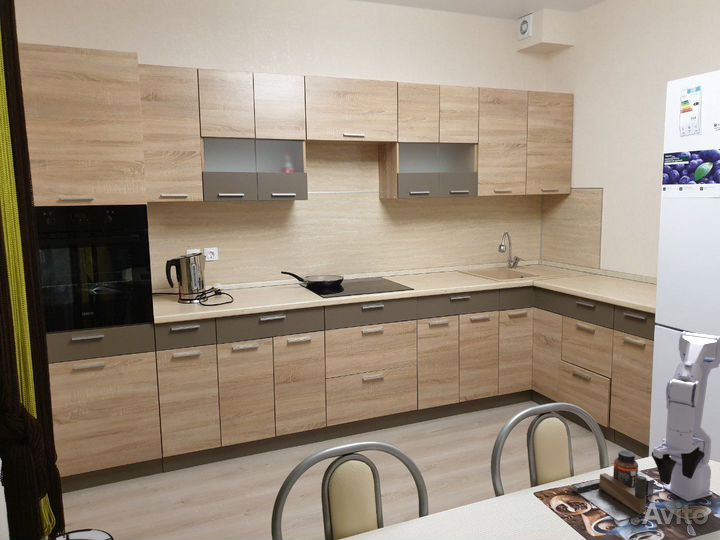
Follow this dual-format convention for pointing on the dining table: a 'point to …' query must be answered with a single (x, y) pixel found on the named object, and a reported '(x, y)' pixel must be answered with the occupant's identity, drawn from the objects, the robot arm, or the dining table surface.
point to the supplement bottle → (626, 468)
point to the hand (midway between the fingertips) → (676, 479)
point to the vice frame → (611, 498)
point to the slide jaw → (626, 491)
